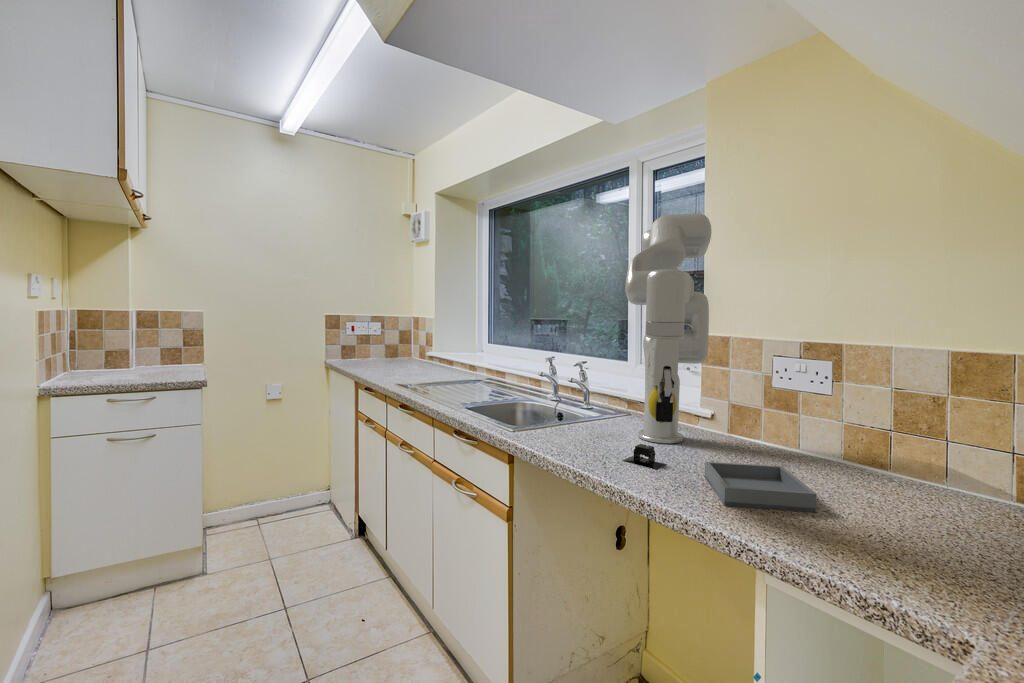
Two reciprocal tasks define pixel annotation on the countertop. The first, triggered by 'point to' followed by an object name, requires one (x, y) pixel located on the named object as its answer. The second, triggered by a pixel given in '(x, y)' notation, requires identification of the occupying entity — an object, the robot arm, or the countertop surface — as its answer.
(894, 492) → the countertop surface
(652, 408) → the lemon
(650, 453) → the black arched block
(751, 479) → the tray
